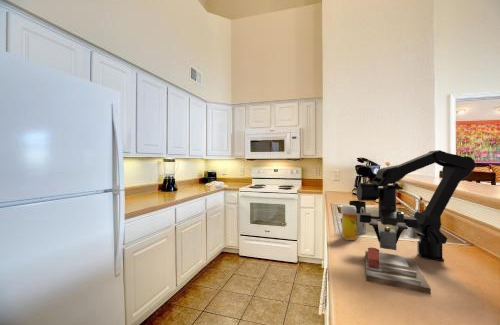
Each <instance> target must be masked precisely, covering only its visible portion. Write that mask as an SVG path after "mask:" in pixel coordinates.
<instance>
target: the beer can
mask: <svg viewBox="0 0 500 325" xmlns="http://www.w3.org/2000/svg"><path fill="white" fill-rule="evenodd" d="M341 237H342V239H343V240H345V241H349V240H354V241H356V239H357V234H356V207H355V206H353V205H349V204H343V205H342V207H341Z"/></svg>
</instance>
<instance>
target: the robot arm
mask: <svg viewBox="0 0 500 325" xmlns="http://www.w3.org/2000/svg"><path fill="white" fill-rule="evenodd" d="M433 164H437V165H438V166H440V167H442V178H441V179H440V182H439V183H438V185H437V187H436V189H435V191H434V192H433V195H432V196H431V198H430V200H429V202H428V204H427V205H426V207H425V209H424V210H422V211H421V212H419V211H416V212H415V213H414V216H405V214H404V212H403V211H397V191H403V187H402V186H401V185H400V184H398V183H397V182H399V181H401V180H402V179H404V178H405V177H406V175H408V174H411V173H413V172H415V171H418V170H420V169H423V168H426V167H428V166H431V165H433ZM476 164H477V163H476V162H475V159H473V158H472V157H471V156H468V155H465V156H464V155H463V156H461V155H458V154H454V153H449V152H446V151H443V150H439V149H438V150H430V151H429V152H427V153H425V154H422V155H419V156H417V157H415V158H413V159H410V160H407V161H405V162H402V163H400V164H397V165H391V166H387V167H386V166H385V167H382V168H379V169H378V170H377V172H376V174H375V175H376V176H375V177H374V178H373V179H372V181H371V182H370V183H369V182H368V183H367V182H366V183H364V182H358V185H357V186H358V187H357V189H356V191H355V192H356V198H357V201H363V202H376V201H378V216H377V215H372V214H371V213H370V212H366V213H360V222H363V223H366V224H368V226H372V228H373V230H374V233H375V235H376V238H377V241H378V242H380V236H379V224H378V222H380V224H381V225H383V226H387V225H388V226H392V227H395V232H396V245H397V243H398V242H399V239H400V237H401V235H402V233H403V232H404V230H408V228H412V229H411V230H413V231H414V232H415V235H416V236H417V237H419V238H418V239H419V240H418V241H417V247H416V248H417V253H418V254H419V256H420V257H421V258H423V259H428V260H437V261H440V262H441V261H442V262H444V261H445V258H444V257H443V245H445V244H446V243H447V242H448V237H447V236H446V235H445V234H443V232H441V226H442V220H441V216H442V214H443V212H444V211H445V210H446V207H447V205H448V204H449V202H450V200H451V199H452V197H453V195H454V193H455V191H456V190H457V187H458V185H459V184H460V182H462V181H463V180H464V179H466V178H468V177H469V176H470V175H471V173H472V172H473V171H474V170H475V168H476Z"/></svg>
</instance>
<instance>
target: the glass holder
mask: <svg viewBox="0 0 500 325" xmlns="http://www.w3.org/2000/svg"><path fill="white" fill-rule="evenodd" d="M366 202H367V201H359V200H349V202H348V205H353V206H355V207H356V233H360V234H359V235H366V234H368V231H367V223H363V222H360V213H367V211H366V205H367V204H366Z"/></svg>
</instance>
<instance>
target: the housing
mask: <svg viewBox="0 0 500 325" xmlns="http://www.w3.org/2000/svg"><path fill="white" fill-rule="evenodd" d="M378 229H379V236H380V242H379V241H378V242H379V243H378V244H379V247H380V249H384V250H391V251H392V250H393V251H397V244H396V232H395V231H396V229H395V228H391V227H390V226H384V227H382V226H378Z"/></svg>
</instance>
